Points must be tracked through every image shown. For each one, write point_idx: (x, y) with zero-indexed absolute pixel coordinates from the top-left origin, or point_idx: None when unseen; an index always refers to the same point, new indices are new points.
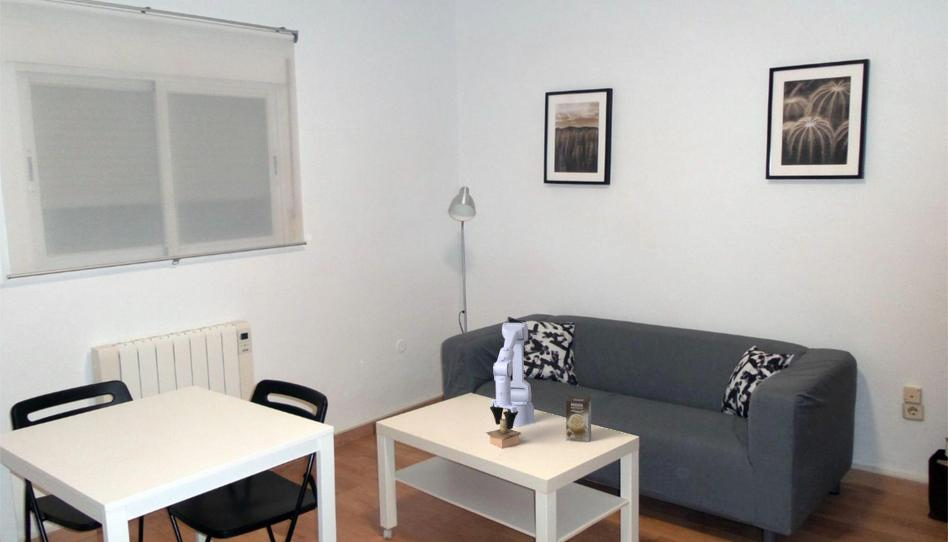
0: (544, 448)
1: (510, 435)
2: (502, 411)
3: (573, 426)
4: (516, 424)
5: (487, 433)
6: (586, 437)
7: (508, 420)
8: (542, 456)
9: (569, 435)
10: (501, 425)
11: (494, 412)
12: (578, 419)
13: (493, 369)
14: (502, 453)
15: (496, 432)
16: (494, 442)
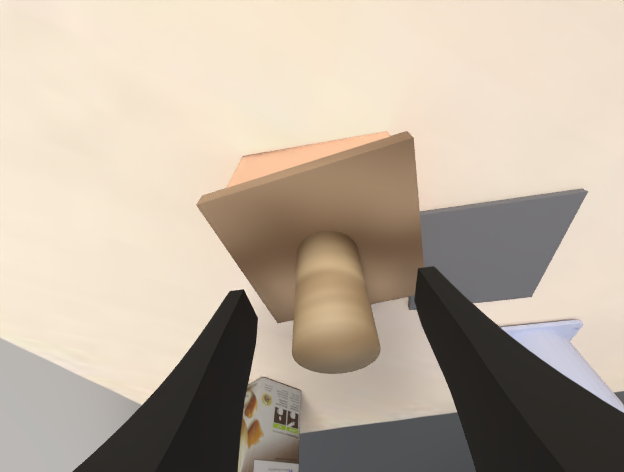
0: (199, 315)
1: (242, 265)
2: (468, 441)
3: None
4: (514, 337)
5: (562, 196)
6: None
7: (166, 388)
8: (89, 280)
9: (251, 399)
10: (315, 286)
11: (509, 404)
12: None
13: None
14: (162, 125)
15: (367, 211)
16: (335, 149)
